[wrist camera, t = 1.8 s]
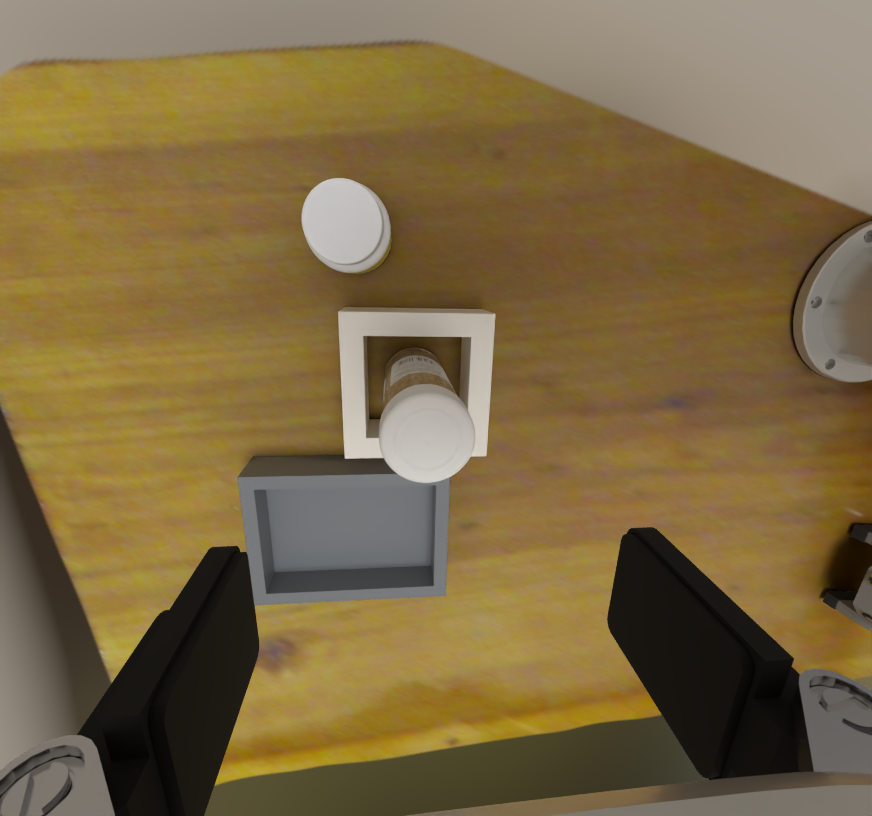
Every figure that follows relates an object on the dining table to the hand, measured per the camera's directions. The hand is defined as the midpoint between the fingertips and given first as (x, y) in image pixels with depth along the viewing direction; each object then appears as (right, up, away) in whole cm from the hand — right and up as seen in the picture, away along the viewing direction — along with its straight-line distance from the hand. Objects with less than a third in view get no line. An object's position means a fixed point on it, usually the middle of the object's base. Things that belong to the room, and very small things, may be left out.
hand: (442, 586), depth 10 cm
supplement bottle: (-6, +16, +19) cm, 25 cm away
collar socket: (-2, +7, +22) cm, 23 cm away
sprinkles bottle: (-2, +7, +22) cm, 23 cm away
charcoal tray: (-7, -5, +25) cm, 26 cm away
